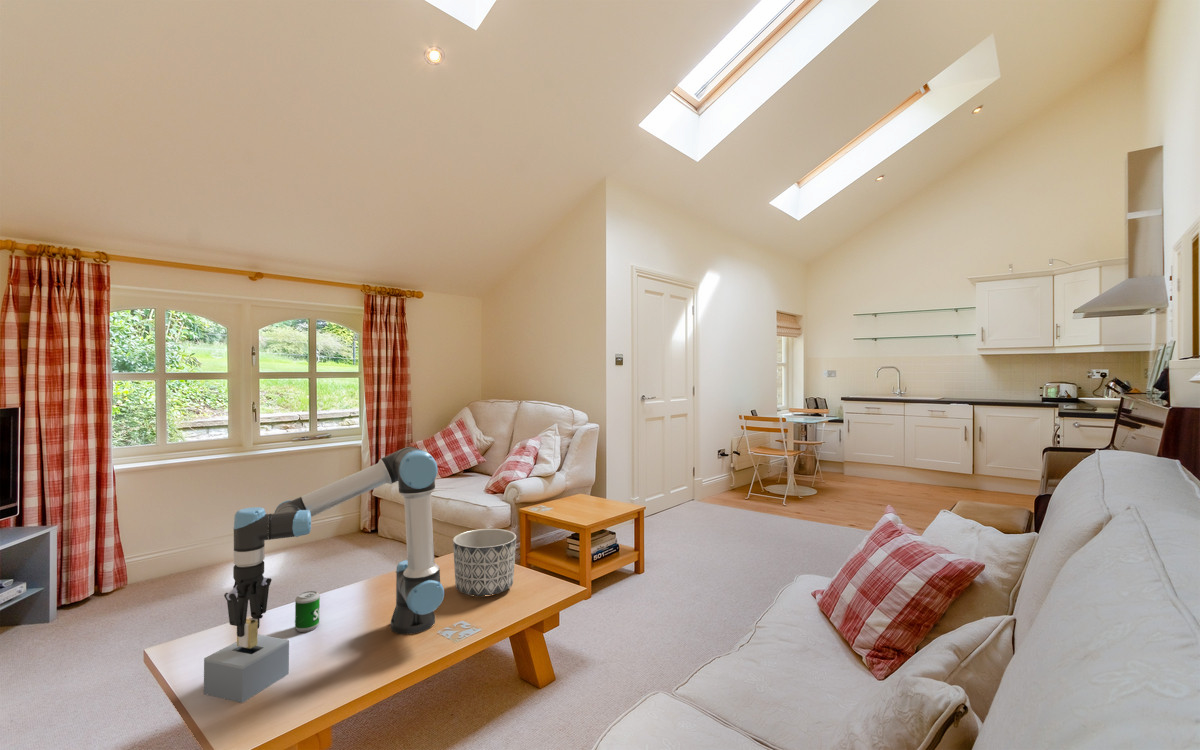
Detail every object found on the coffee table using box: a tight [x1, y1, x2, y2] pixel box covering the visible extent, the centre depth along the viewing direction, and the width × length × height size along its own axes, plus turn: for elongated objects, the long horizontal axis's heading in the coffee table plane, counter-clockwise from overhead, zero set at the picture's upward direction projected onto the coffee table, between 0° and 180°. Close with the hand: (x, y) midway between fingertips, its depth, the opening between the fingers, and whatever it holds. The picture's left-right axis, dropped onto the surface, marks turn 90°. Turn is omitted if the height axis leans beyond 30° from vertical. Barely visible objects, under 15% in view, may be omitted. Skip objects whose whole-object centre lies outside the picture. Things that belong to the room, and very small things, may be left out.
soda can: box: [294, 590, 321, 633], centre depth 187 cm, size 8×8×12 cm
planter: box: [452, 528, 517, 597], centre depth 222 cm, size 26×26×22 cm
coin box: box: [203, 634, 290, 704], centre depth 153 cm, size 14×15×10 cm
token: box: [236, 618, 259, 649], centre depth 154 cm, size 5×2×7 cm, turn 74°
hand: (248, 643), depth 154 cm, fingers open, 2 cm apart
